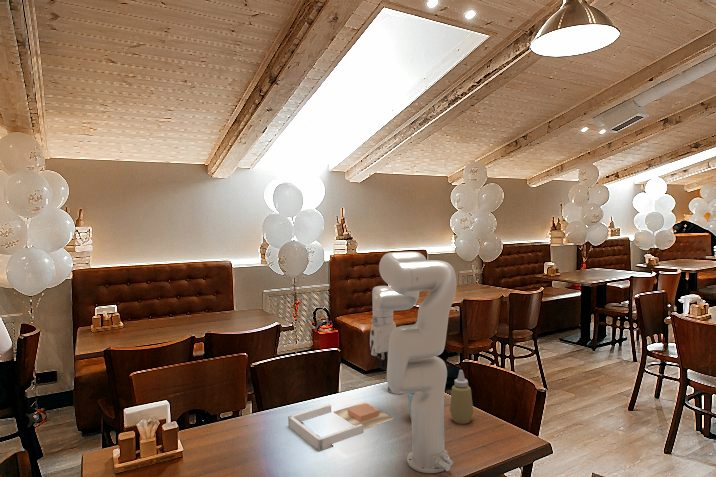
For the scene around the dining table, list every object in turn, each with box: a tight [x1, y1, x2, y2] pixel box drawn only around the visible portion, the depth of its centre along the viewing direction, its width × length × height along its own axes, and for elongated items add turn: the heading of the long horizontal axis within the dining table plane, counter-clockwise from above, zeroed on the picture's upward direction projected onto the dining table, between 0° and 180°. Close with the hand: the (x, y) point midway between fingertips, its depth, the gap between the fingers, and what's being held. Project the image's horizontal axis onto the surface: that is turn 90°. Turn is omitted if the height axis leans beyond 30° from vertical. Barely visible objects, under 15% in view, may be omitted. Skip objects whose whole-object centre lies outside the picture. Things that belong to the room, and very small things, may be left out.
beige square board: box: [333, 401, 395, 431], centre depth 171 cm, size 18×14×1 cm
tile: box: [348, 402, 380, 422], centre depth 171 cm, size 8×8×2 cm
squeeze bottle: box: [449, 369, 474, 425], centre depth 166 cm, size 8×8×18 cm
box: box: [287, 404, 364, 452], centre depth 162 cm, size 21×17×4 cm
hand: (383, 368), depth 176 cm, fingers closed
